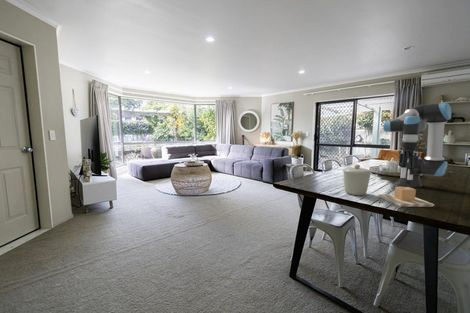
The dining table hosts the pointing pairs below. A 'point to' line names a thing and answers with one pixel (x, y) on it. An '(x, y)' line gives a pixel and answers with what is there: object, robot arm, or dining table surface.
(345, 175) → the canister
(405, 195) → the orange block
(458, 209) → the dining table surface
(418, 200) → the cream flat piece
